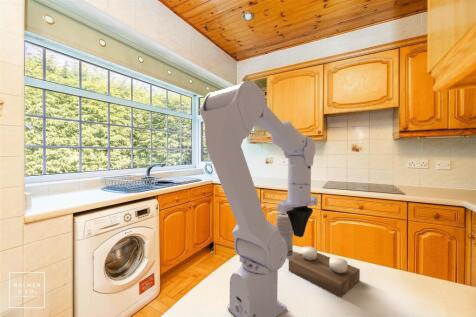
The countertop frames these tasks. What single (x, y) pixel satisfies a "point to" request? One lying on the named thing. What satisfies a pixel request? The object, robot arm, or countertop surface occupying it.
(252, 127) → the robot arm
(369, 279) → the countertop surface
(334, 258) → the knob near
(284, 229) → the energy drink
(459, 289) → the countertop surface
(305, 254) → the knob far
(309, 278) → the block
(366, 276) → the countertop surface
